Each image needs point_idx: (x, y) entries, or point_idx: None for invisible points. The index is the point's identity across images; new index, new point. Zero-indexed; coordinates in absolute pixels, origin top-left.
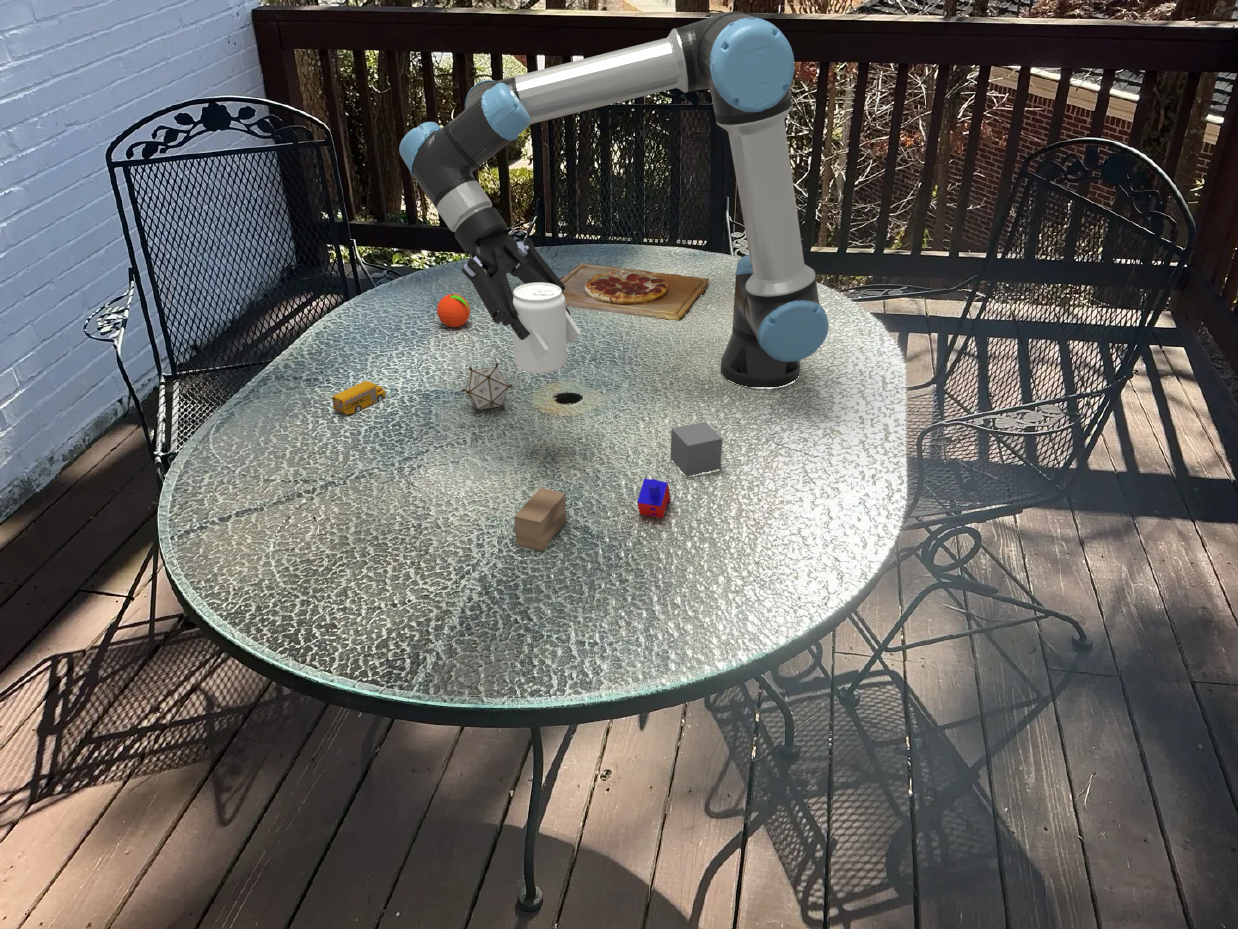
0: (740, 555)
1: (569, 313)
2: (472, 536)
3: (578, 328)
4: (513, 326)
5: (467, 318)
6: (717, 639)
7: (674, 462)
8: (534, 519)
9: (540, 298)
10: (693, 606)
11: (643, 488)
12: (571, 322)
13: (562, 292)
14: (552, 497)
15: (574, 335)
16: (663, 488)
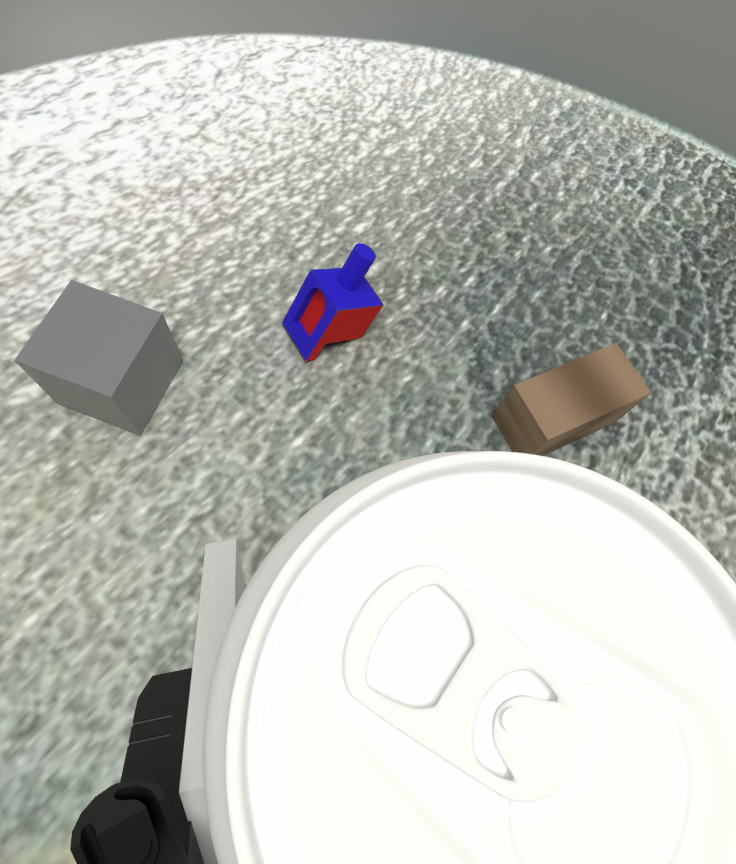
0: (320, 161)
1: (155, 684)
2: (677, 503)
3: (205, 561)
4: None
5: None
6: (488, 94)
7: (150, 413)
8: (621, 357)
9: (582, 557)
10: (467, 143)
11: (354, 304)
12: (224, 594)
13: (100, 795)
14: (547, 391)
15: (242, 571)
16: (326, 273)
